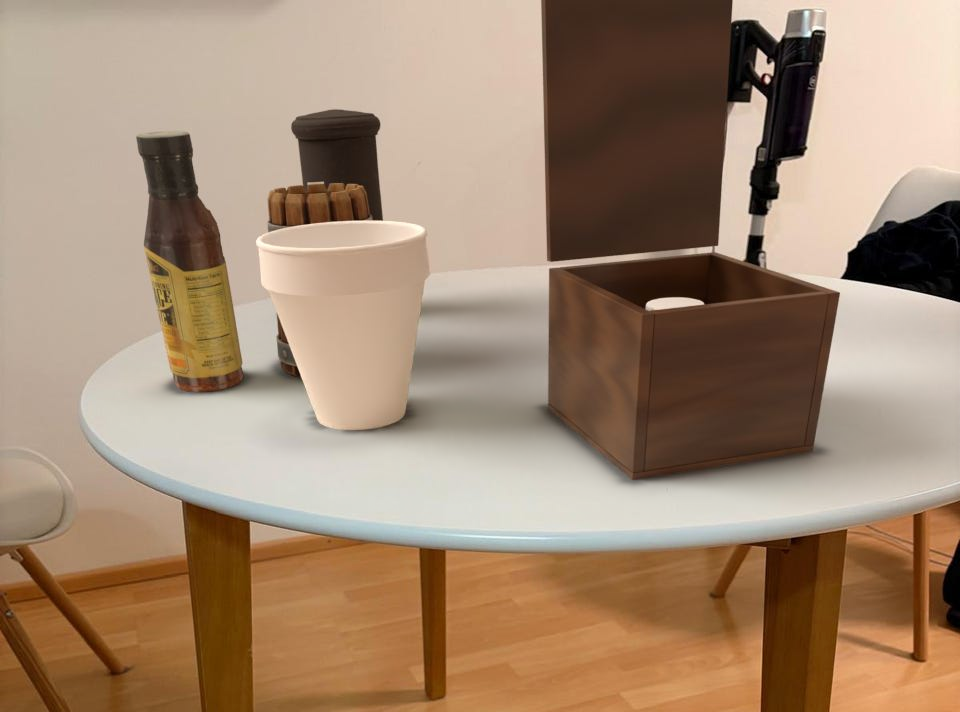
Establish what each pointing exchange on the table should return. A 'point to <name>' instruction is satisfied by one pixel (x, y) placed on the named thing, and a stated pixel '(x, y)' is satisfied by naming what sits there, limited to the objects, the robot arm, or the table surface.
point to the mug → (311, 209)
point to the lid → (633, 124)
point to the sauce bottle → (188, 269)
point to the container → (340, 151)
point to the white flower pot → (349, 313)
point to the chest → (688, 361)
